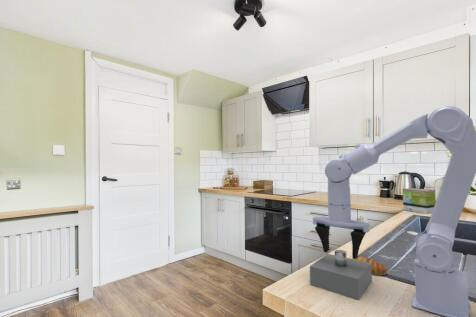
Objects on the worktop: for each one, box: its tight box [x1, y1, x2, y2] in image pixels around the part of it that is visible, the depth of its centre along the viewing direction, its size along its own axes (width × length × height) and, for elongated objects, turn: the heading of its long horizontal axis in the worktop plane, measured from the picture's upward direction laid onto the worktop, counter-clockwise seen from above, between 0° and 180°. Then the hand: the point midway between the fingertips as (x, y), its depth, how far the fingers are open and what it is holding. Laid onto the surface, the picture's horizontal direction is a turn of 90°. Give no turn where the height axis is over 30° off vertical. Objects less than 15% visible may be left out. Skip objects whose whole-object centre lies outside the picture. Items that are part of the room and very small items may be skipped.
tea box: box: [402, 187, 437, 215], centre depth 164 cm, size 15×10×15 cm
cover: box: [309, 249, 373, 301], centre depth 68 cm, size 12×12×8 cm
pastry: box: [354, 256, 388, 277], centre depth 76 cm, size 9×7×4 cm
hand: (340, 254), depth 68 cm, fingers open, 7 cm apart
